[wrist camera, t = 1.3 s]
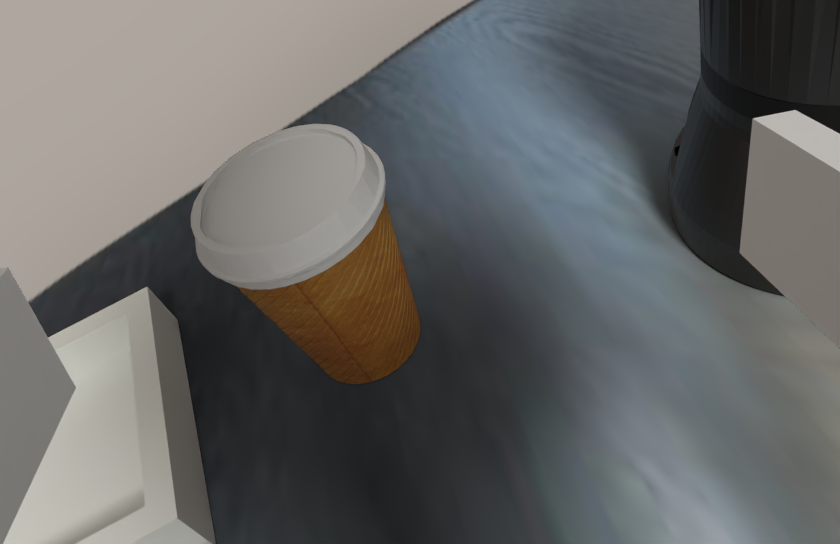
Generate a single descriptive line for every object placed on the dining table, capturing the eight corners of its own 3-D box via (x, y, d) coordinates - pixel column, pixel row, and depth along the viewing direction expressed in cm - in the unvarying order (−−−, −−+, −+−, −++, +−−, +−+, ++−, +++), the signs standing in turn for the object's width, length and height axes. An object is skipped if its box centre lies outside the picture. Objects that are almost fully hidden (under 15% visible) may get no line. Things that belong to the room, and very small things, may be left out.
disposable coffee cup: (331, 270, 44) (242, 121, 36) (469, 279, 40) (405, 113, 32) (265, 398, 39) (142, 257, 31) (416, 423, 35) (321, 269, 26)
